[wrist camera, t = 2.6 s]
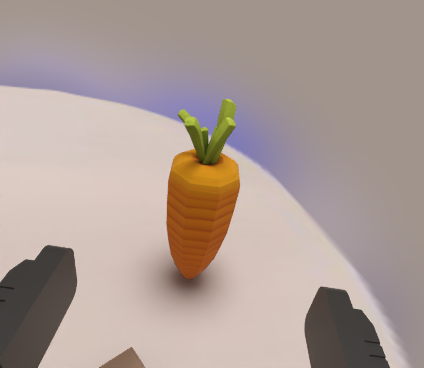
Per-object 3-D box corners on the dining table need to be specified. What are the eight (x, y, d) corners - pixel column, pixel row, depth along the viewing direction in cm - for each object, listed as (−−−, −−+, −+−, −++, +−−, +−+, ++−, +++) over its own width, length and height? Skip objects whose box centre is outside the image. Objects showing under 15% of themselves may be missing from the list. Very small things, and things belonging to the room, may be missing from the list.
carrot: (167, 309, 25) (189, 122, 16) (152, 260, 28) (164, 88, 20) (227, 295, 26) (274, 120, 18) (205, 251, 30) (236, 90, 22)
